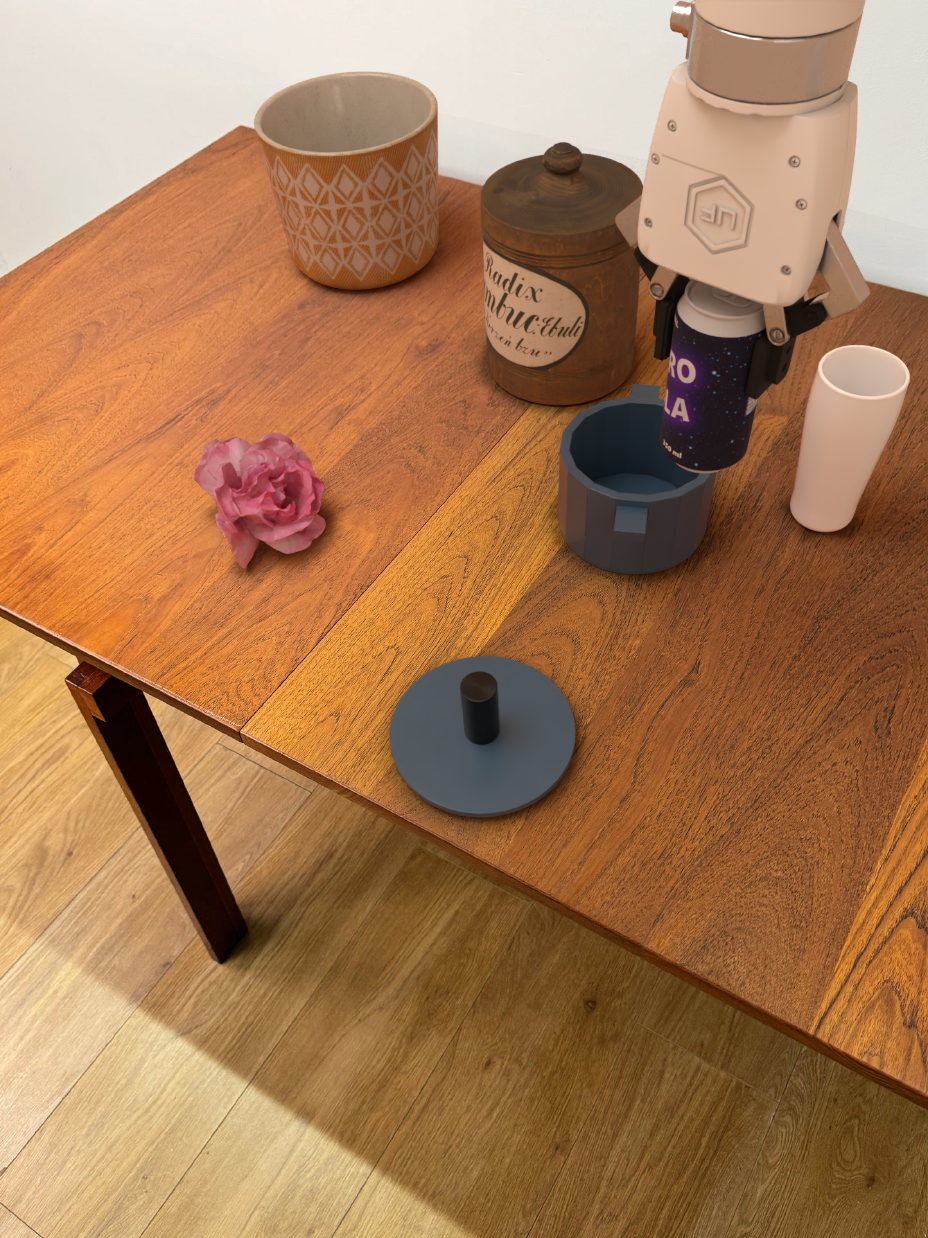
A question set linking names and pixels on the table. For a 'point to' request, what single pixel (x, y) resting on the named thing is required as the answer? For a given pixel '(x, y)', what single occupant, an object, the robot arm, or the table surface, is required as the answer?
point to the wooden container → (559, 276)
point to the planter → (354, 175)
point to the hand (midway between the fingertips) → (716, 364)
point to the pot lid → (482, 736)
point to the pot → (628, 489)
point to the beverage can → (710, 379)
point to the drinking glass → (845, 432)
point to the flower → (262, 494)
